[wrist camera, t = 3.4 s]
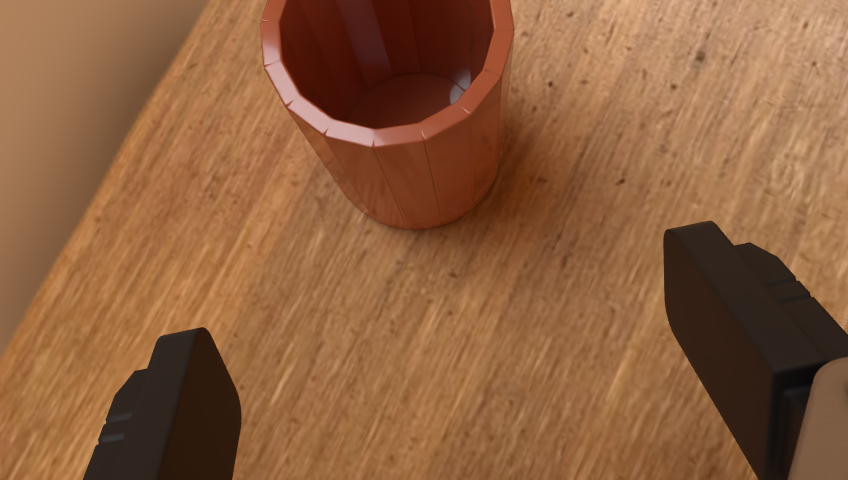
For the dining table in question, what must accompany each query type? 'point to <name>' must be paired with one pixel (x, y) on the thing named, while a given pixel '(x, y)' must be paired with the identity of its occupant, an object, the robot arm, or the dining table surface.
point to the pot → (397, 98)
